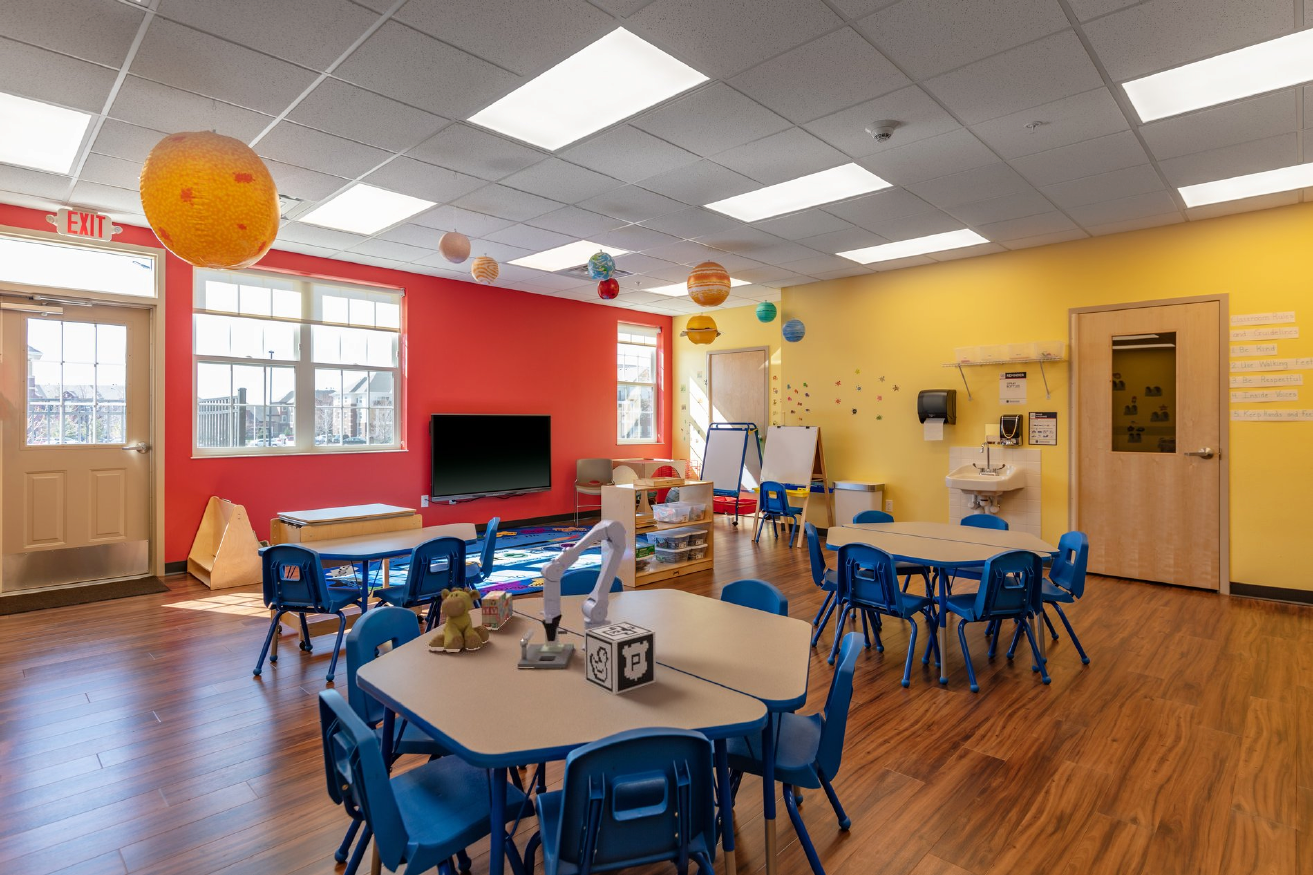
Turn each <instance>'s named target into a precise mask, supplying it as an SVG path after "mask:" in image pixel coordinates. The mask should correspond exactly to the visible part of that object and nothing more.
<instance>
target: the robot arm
mask: <svg viewBox="0 0 1313 875" xmlns="http://www.w3.org/2000/svg"><path fill="white" fill-rule="evenodd" d="M626 534H627V530H626V528H625V527H624V525H623V524H622V523H621V522H620V521H616V520H612V519H609V518H604V519H602V520H601V521H599V522H598V523H596V524H595V525H594V526H593V527H592V528H591V530H589V531H588V532H587V533H586V534H585V535H584V536H583V537H582V538H581V539H580V540H579V541H578V542H577V543H575V545H573V546H567V547H566V548H565V547H563V548H562V549H561V552H560V553H559V554H557V555H556V556H555V557H552V558H551V559H550V561H548V562H545V563H544V564H543V565H542V567H541V570H540V575H541V577H542V579H543V582H542V583H543V585H542V588H543V589H542V591H543V594H542V595H543V596H542V597H543V600H542V601H543V610H541V611H539V615H542V616H544V618H545V619H542V620H541V624H542V625H543V628H544V629H545V630H546V634H547V639H548V641H554V640H555V636H556V629H557V627H559V628H560V623H561V620H562V618H563V614H562V610H561V608H562V606H561V604H562V602H561V601H562V600H561V599H562V598H561V596H562V595H561V579H562V578H563V575H564V573H565V572H566V571H567V570H568V569H569V568H571V567H572V566H573V565H574V564H576V563H577V562H578V561H579V558H580V554H582V553H583V552H585V551H586V550H587V549H588V548H590V547H591V546H592V545H593V544H595V543H596V542H598V541H606V542H607V545H608V548H609V549H608V551H607V555H606V556H605V560H604V562H603V564H602V568H601V570H600V572H599V576H598V578H597V581H596V584H595V586H594V589H593V590H592V591H591V592H589V594H588V596H587V598H586V599H585V600H584V601H583V603H582V605H581V612H582V614H583V615H584V619H583V629H584V631H583V636H584V637H583V645H582V647H581V650H585V630H588V629H593V628H597V627H601V626H606V625H610V624H612V621H611V620H606V618H607V616H608V607H609V604H610V602H609V594H610V591H611V588H612V586H613V584H614V581H615V578H616V576H617V572H618V570H619V567H620V565H621V563H622V560H623V557H624V555H625V552H626V548H627V543H626Z"/></svg>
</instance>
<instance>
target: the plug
mask: <svg viewBox="0 0 1313 875" xmlns="http://www.w3.org/2000/svg"><path fill="white" fill-rule="evenodd" d="M544 634H545V635H544V636H545V637H544V638H545V640H544V641H545V643H544V644H545V647H558V645H559V644H560V635H567V634H568V630H560V626H559V627H557V629H556V636H555V640H554V641H548V639H547V634H546V630H545V633H544Z"/></svg>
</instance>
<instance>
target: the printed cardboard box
mask: <svg viewBox="0 0 1313 875" xmlns="http://www.w3.org/2000/svg"><path fill="white" fill-rule="evenodd" d="M513 606H514V603H513V593H512V592H510V593H509V592H508V593H507V591H506V590H493V591H492V590H491V591H490V592H488V593H486V595H485V596H484V597H482V598H481V625H482V626H484V627H492V628H498V627H500V626H501V625H502V624H503V623H504V622H505V620H507V618H509V617H510V616H512V614H513V612H514V609H513ZM513 615H514V614H513ZM512 617H513V616H512Z"/></svg>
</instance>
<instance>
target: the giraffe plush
mask: <svg viewBox="0 0 1313 875" xmlns="http://www.w3.org/2000/svg"><path fill="white" fill-rule="evenodd" d="M440 594H441V599H442V603H441V605H440V606H441V607H440V610H441V613H442V615H443V616H444V617H446V620H445V624H444V626H443V628H442V630H443V631H442V633H440V634H436V635H435V636H434V637H433V638H432V639H431V640H430V641H429V642H428V644H427V646H428V645H429V646H431V647H444V649H461V648H462V649H463V648H464V649H465V648H468V649H474V648H478V647H481V648H482V647H483V645H484V644H483V643H482V642H485V641H487V640H488V641H489V638H490V634H489V631H488V629H487V628H486V627H484V626H482V624H481V625H477V626H473V621H472V618H471V614H470V613H469V611H471V609H472V606H473V605H474V601H477V600H479V599H481V593H480V592H479V590H477V589H472V590H471V588H470V587H468V586H466V587H464V589H463V588H461V587H458V588H457V587H453V588H451V591H450V590H448V589H447V588H444V589H442V590H441V593H440ZM462 649H461V650H462Z"/></svg>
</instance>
